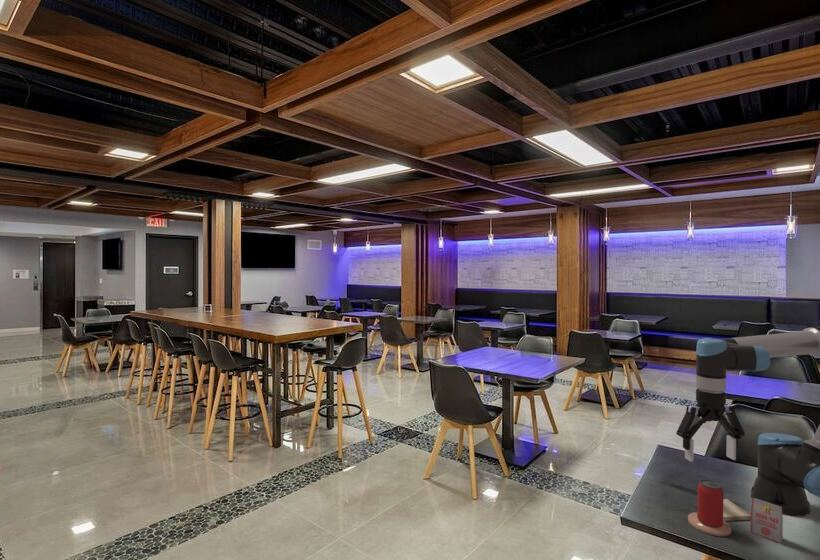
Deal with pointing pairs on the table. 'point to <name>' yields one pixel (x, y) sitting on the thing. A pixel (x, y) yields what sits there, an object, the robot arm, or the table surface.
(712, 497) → the beer can
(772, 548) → the table surface
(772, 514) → the printed cardboard carton
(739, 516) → the square tan board
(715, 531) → the coaster
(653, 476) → the table surface
